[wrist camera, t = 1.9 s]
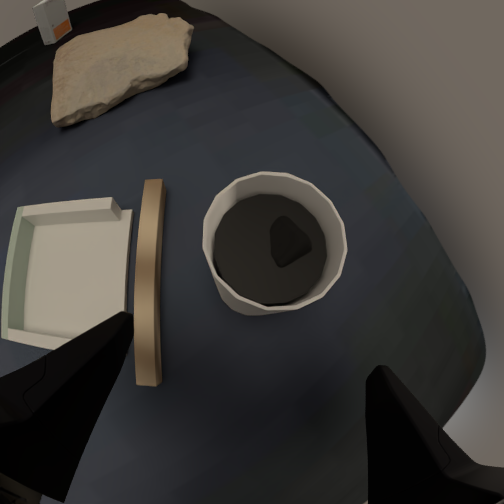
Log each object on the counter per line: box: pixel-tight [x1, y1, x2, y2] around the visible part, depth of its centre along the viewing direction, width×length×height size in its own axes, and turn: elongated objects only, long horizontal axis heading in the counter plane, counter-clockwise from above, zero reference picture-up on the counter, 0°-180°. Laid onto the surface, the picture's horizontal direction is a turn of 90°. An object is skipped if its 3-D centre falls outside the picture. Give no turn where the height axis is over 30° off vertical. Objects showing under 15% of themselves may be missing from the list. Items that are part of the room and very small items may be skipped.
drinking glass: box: [203, 172, 347, 315], centre depth 17 cm, size 7×7×10 cm
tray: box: [1, 197, 134, 350], centre depth 18 cm, size 12×12×3 cm
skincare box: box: [32, 0, 72, 45], centre depth 26 cm, size 6×4×12 cm
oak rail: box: [134, 179, 166, 386], centre depth 20 cm, size 16×2×2 cm, turn 3°
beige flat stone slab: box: [51, 13, 194, 127], centre depth 25 cm, size 24×8×20 cm
